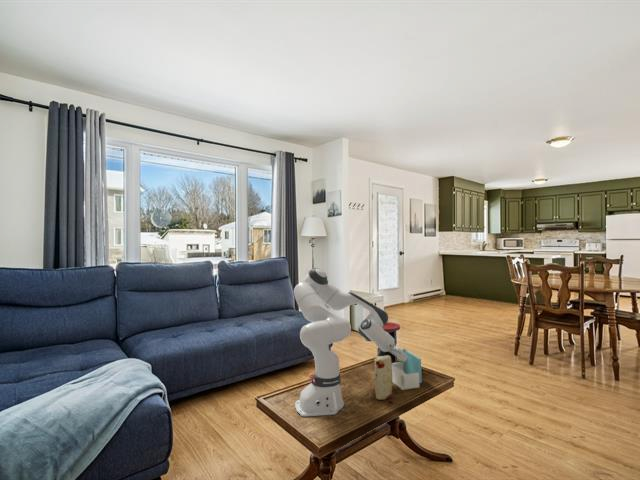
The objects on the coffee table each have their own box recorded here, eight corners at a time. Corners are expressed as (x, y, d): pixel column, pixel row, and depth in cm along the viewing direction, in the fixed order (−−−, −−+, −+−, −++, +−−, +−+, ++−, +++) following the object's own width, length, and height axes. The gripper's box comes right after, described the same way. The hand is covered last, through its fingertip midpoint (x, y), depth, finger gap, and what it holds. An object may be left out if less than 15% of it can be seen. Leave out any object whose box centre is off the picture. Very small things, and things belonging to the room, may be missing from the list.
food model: (380, 403, 152) (379, 359, 152) (371, 397, 157) (370, 355, 158) (396, 397, 157) (395, 355, 157) (387, 392, 162) (385, 351, 163)
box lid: (419, 382, 167) (418, 359, 167) (403, 370, 183) (402, 349, 183) (423, 382, 168) (422, 358, 168) (406, 370, 184) (405, 348, 184)
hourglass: (387, 360, 205) (385, 320, 205) (407, 368, 191) (405, 325, 192) (367, 367, 196) (366, 324, 196) (387, 375, 182) (386, 330, 182)
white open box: (402, 389, 164) (401, 371, 165) (386, 376, 181) (386, 360, 181) (419, 387, 167) (418, 369, 167) (402, 374, 183) (402, 358, 183)
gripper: (399, 343, 162) (417, 361, 165) (381, 333, 182) (398, 348, 185) (391, 353, 161) (410, 371, 164) (374, 341, 181) (391, 357, 184)
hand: (403, 359), depth 174 cm, fingers closed
